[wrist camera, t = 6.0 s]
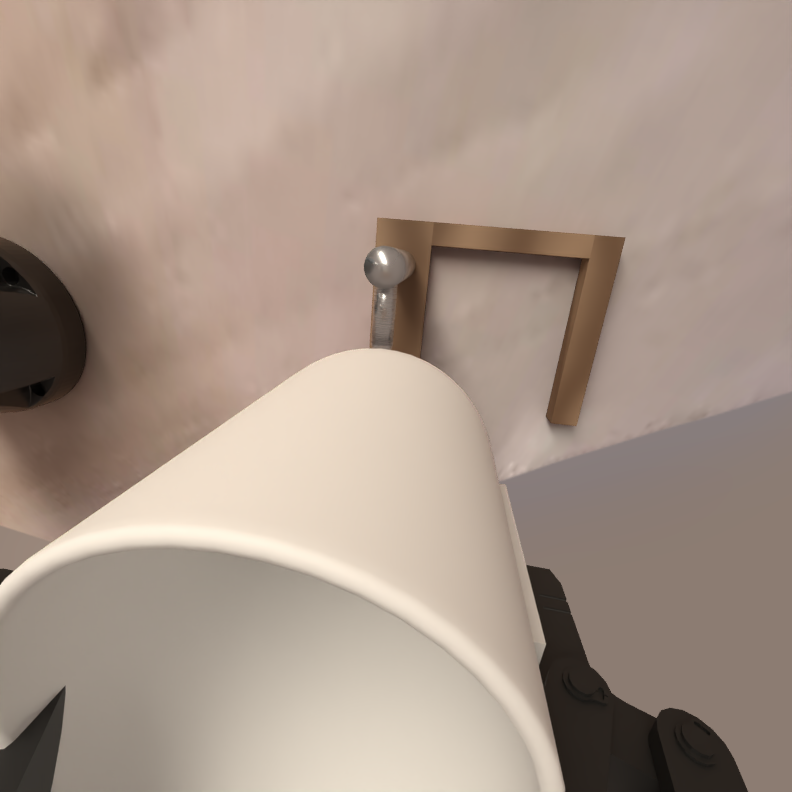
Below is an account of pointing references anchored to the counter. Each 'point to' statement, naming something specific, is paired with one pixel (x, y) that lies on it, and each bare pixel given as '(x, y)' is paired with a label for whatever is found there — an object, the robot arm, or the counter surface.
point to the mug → (293, 606)
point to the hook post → (386, 289)
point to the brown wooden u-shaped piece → (593, 249)
